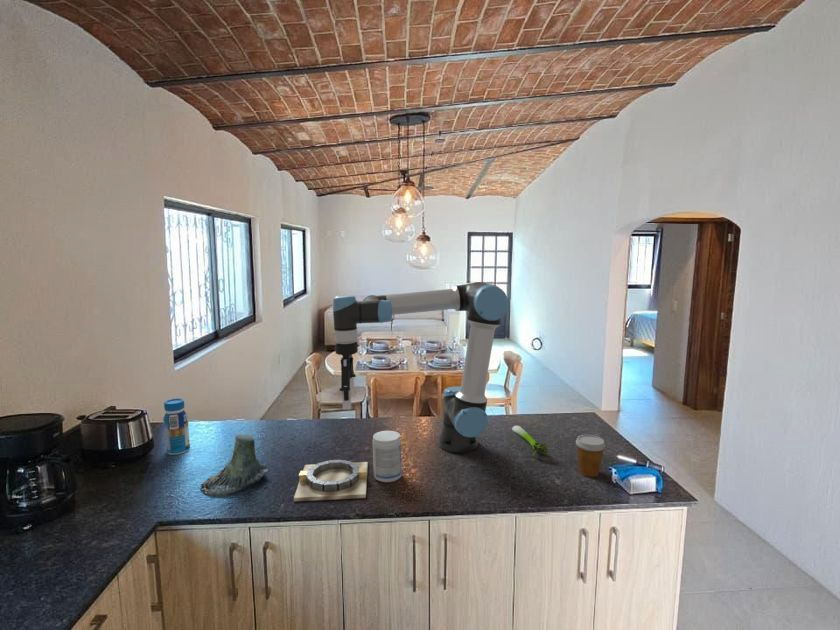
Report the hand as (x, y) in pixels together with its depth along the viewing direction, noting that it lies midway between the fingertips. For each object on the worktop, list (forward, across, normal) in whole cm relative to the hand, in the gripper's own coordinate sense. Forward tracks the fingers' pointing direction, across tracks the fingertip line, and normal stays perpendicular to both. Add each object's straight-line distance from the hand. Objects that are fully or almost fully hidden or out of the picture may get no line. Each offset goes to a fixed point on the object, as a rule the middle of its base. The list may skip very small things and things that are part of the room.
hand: (348, 402), depth 162 cm
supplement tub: (+25, +6, +12) cm, 29 cm away
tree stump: (+24, +5, -38) cm, 46 cm away
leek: (+26, -16, +67) cm, 74 cm away
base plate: (+25, +8, -6) cm, 27 cm away
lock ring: (+23, +8, -5) cm, 25 cm away
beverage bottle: (+24, -20, -68) cm, 75 cm away
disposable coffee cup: (+26, +8, +82) cm, 86 cm away
